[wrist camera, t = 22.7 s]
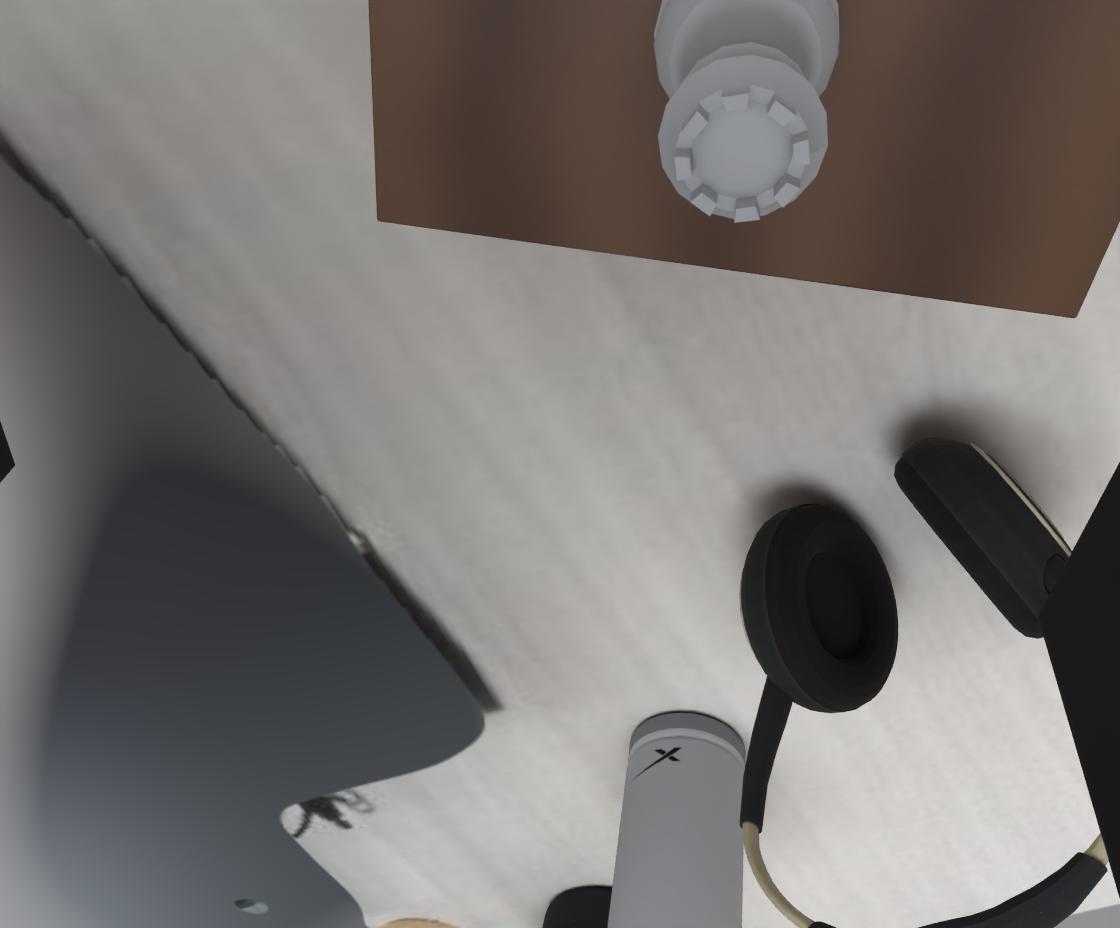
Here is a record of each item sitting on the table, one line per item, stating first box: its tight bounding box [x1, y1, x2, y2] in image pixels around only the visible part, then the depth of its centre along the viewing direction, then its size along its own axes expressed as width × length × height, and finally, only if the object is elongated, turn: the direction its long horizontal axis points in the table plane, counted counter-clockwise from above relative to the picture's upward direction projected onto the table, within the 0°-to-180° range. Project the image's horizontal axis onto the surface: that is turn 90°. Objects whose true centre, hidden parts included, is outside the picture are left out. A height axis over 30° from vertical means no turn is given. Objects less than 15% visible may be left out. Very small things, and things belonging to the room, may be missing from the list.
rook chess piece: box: [654, 0, 839, 223], centre depth 23 cm, size 4×4×8 cm
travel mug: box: [608, 713, 745, 928], centre depth 50 cm, size 6×7×20 cm
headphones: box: [739, 439, 1109, 928], centre depth 37 cm, size 9×15×20 cm, turn 132°
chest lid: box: [369, 0, 1120, 318], centre depth 26 cm, size 20×13×1 cm, turn 86°
